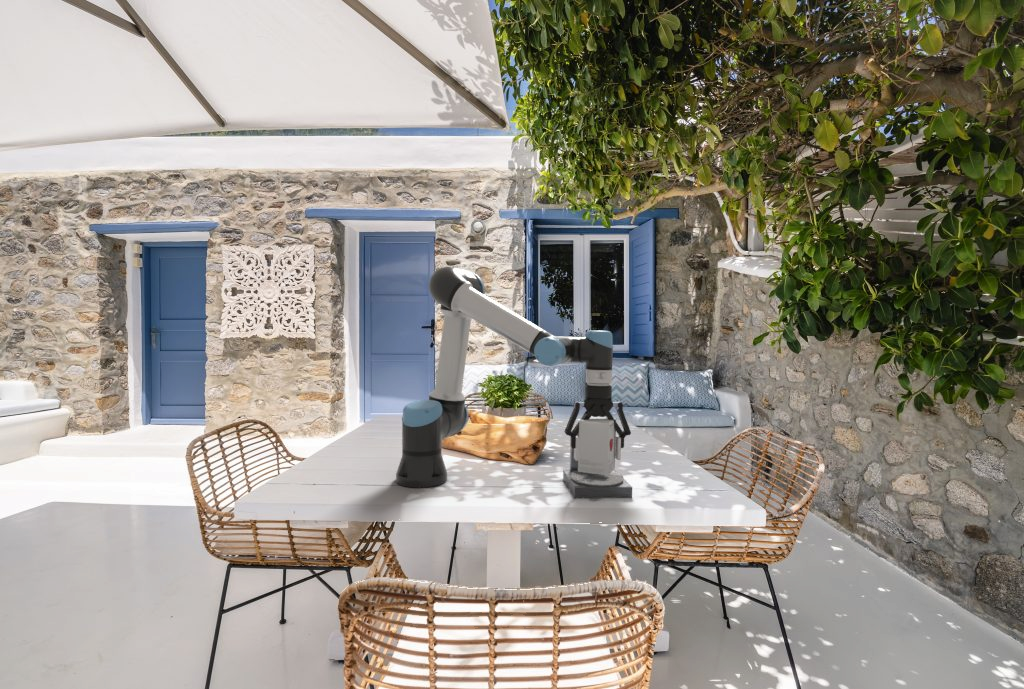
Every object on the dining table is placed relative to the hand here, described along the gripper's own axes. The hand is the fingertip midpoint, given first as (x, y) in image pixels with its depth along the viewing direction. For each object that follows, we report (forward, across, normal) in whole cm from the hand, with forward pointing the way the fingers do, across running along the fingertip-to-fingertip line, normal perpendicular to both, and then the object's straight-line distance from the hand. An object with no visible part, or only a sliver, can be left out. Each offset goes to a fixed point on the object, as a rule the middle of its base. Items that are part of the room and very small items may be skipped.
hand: (597, 459), depth 152 cm
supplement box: (+3, 0, 0) cm, 3 cm away
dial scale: (+9, 0, +1) cm, 9 cm away
